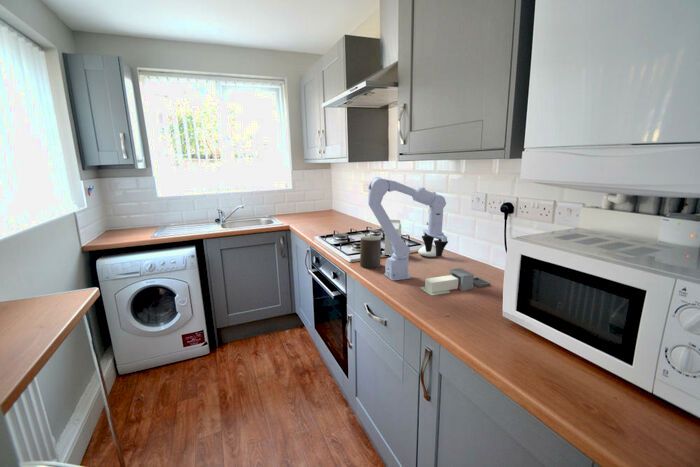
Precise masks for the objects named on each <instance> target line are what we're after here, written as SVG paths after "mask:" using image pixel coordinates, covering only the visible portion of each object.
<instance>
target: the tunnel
mask: <svg viewBox="0 0 700 467" xmlns="http://www.w3.org/2000/svg"><path fill="white" fill-rule="evenodd" d="M449 270H450V271H449V272H450V273H449V275H452V276H454V277H456V278H458V284H460V286H459V290H461V291H467V290H473V288H474V285H473V279H474V278H475V277H474V276H475V274H473V273H472V272H470V271H468V270H465V269H463V268H462V267H459V268H451V269H449Z"/></svg>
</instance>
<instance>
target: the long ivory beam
mask: <svg viewBox="0 0 700 467" xmlns="http://www.w3.org/2000/svg"><path fill="white" fill-rule="evenodd" d="M424 281H425V282H424V283H425V284H424V287H425V289H427V290H428V291H430V292H431V293H433V292H439V291H445V290H448V291H450V290H456V289H459V283H458V278H456V277H454V276H452V275H450V274H449V275H441V276H436V277H430V278H429V277H427V278H425V280H424Z"/></svg>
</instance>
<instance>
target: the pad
mask: <svg viewBox="0 0 700 467" xmlns="http://www.w3.org/2000/svg"><path fill="white" fill-rule="evenodd" d="M419 289H421V290H422V291H424V292H425V293H426V294H428V295H429V296H431V297H432V296H438V295H444V294H449V293H451V291H450V290H445V291H439V292H433V293H431V292H430V291H428V290H427V289H425V286H420V287H419Z"/></svg>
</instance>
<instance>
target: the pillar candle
mask: <svg viewBox="0 0 700 467" xmlns="http://www.w3.org/2000/svg"><path fill="white" fill-rule="evenodd" d="M381 247H382V238H381V237H380V236H378V235H377V236H376V235H363V236H361V237H360V251H359V252H360V253H359V254H360V256H359V259H360V260H359V263H360V264H359V265H360V267H361V268H364V269H370V270H372V269H378V268H380V267H381V254H382V252H381V250H382V248H381Z"/></svg>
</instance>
